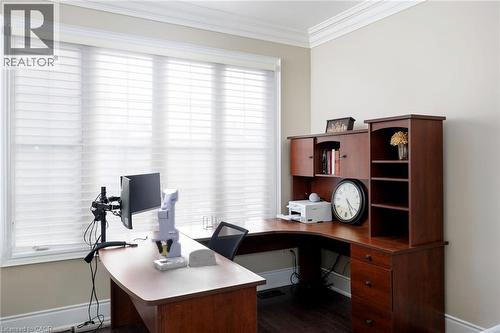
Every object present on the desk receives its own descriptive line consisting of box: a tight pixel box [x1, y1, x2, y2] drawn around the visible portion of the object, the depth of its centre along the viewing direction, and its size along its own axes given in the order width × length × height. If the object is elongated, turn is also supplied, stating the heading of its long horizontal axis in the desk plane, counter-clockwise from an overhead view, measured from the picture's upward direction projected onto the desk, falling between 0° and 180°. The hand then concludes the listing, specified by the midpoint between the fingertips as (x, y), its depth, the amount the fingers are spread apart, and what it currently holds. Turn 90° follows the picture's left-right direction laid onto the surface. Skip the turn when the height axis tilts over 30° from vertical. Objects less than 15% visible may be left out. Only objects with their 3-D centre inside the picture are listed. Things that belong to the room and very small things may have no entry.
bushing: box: [160, 244, 168, 257], centre depth 215 cm, size 4×4×6 cm
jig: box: [153, 256, 188, 272], centre depth 217 cm, size 16×12×3 cm
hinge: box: [188, 248, 218, 268], centre depth 221 cm, size 17×5×10 cm, turn 108°
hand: (164, 252), depth 215 cm, fingers closed on bushing, 4 cm apart
